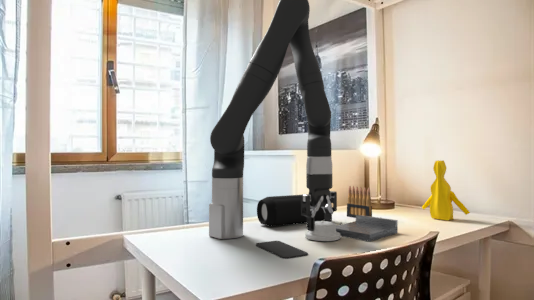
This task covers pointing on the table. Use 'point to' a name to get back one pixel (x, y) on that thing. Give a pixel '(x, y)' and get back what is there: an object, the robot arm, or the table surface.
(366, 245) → the table surface
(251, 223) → the table surface
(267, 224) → the portable speaker
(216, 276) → the table surface
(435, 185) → the figure statuette
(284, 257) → the phone
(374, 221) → the plate
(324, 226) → the mechanical component
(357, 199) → the ammunition clip
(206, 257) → the table surface
